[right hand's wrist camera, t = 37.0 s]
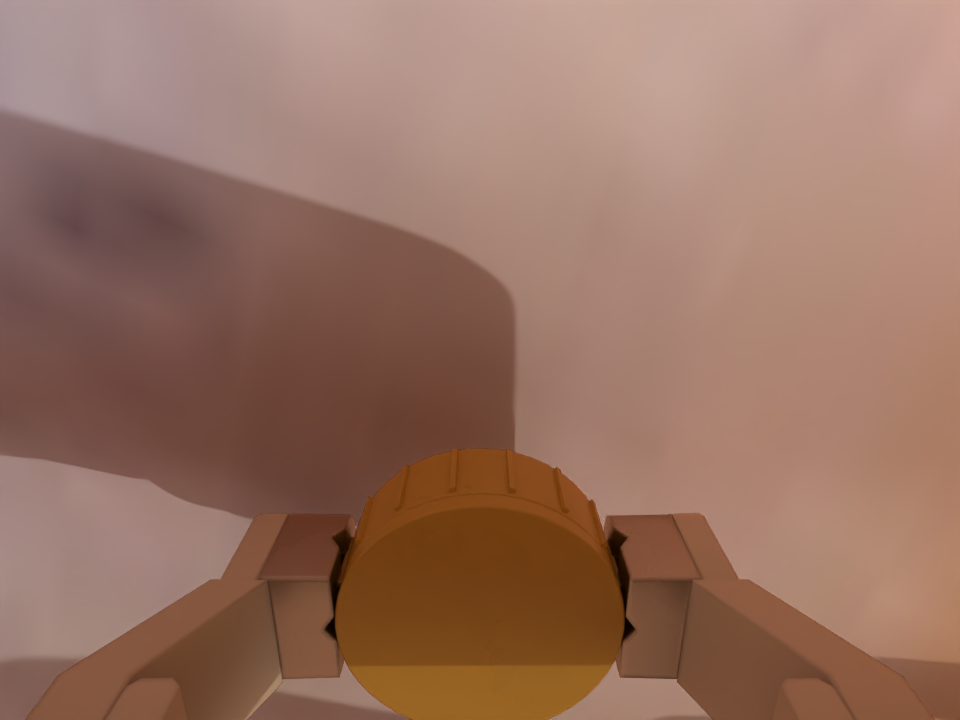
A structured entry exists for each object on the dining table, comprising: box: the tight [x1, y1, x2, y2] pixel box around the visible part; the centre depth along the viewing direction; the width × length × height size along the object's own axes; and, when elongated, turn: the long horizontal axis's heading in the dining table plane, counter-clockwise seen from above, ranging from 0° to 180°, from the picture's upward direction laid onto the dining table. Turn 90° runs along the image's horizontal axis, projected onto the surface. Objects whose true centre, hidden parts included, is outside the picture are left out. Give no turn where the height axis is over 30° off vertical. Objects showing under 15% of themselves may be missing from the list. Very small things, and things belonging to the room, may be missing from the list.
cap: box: [335, 448, 625, 720], centre depth 10 cm, size 4×4×2 cm
